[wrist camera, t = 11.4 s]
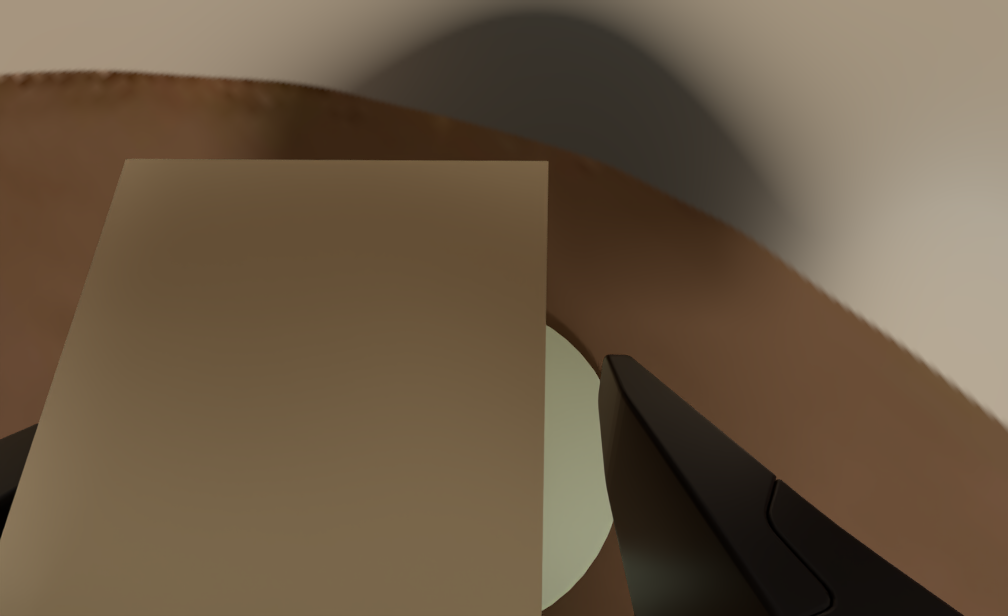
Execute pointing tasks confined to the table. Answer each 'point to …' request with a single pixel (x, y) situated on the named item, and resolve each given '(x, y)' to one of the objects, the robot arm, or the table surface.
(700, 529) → the robot arm
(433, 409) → the maple block
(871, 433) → the table surface
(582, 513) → the pad
